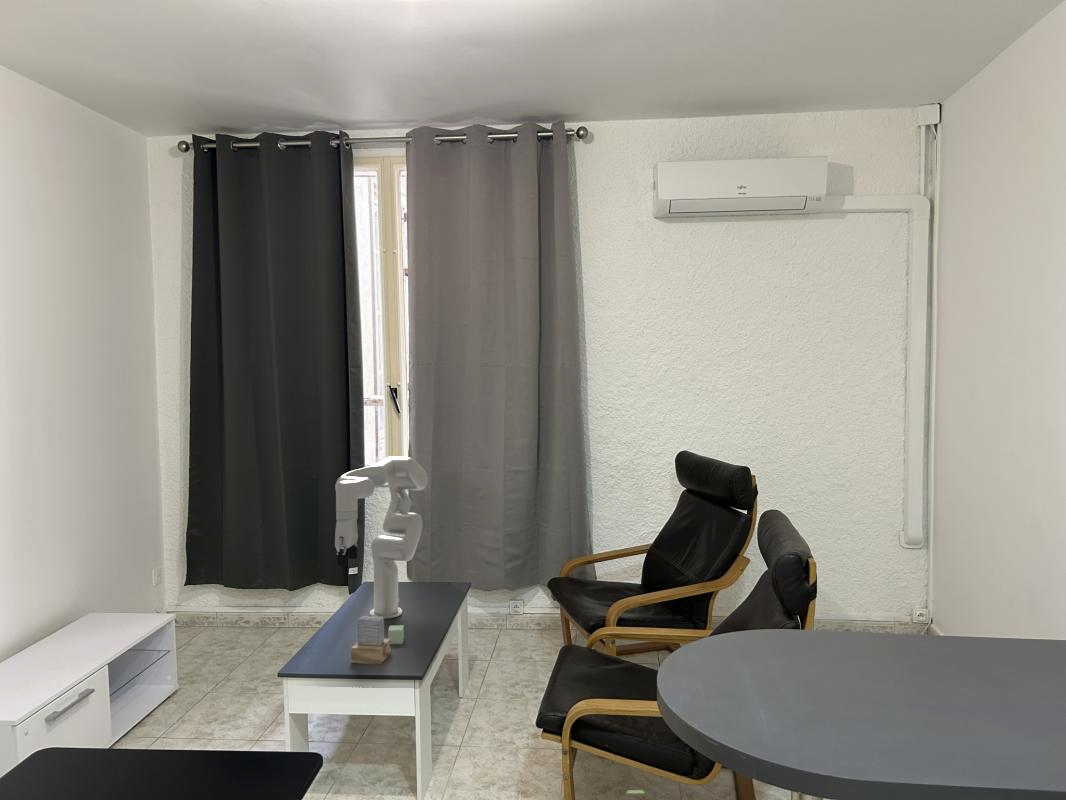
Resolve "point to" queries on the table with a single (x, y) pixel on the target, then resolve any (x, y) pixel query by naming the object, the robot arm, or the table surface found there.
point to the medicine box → (370, 630)
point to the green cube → (396, 634)
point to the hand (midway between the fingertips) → (347, 562)
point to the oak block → (370, 653)
